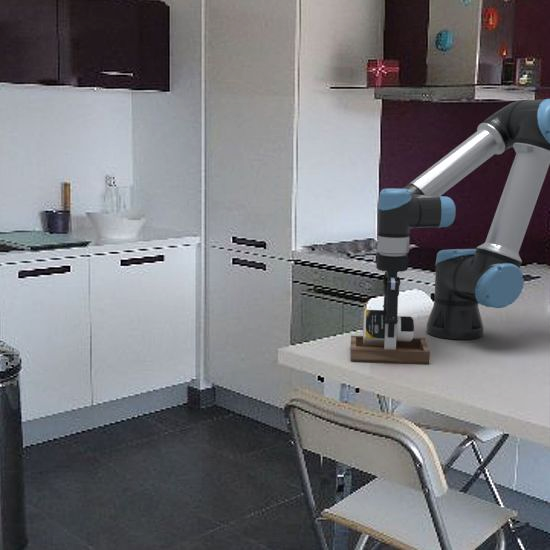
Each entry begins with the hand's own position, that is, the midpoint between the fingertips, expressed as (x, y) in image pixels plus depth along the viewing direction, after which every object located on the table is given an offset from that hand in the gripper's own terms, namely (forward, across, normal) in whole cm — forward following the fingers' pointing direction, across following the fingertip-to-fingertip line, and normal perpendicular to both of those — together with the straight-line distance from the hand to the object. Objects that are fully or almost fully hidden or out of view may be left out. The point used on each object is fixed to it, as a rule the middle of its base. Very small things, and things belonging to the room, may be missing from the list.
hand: (388, 344), depth 206 cm
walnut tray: (+3, 0, 0) cm, 3 cm away
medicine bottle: (-4, 0, -6) cm, 8 cm away
